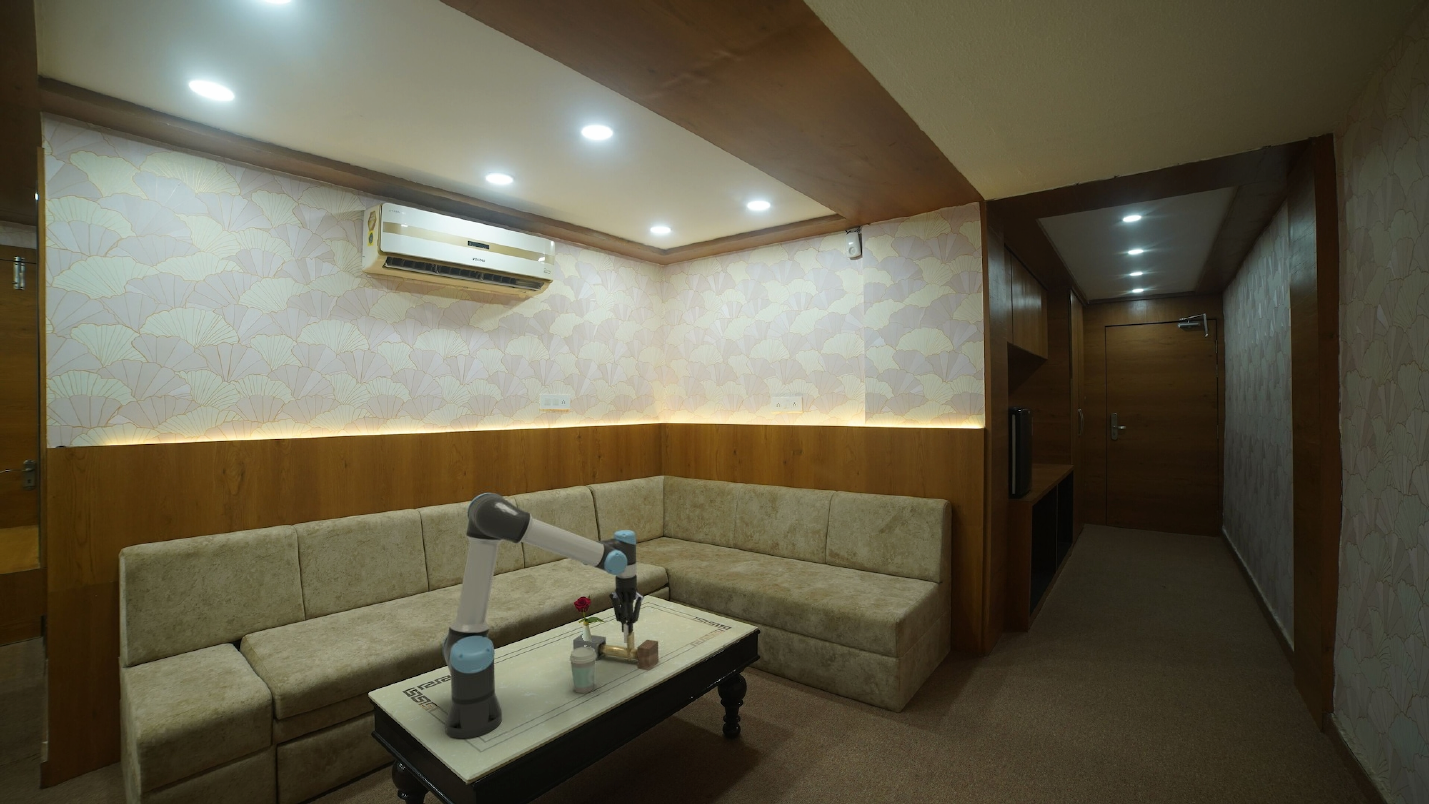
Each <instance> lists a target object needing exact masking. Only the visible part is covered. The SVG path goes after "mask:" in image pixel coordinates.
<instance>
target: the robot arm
mask: <svg viewBox="0 0 1429 804" xmlns="http://www.w3.org/2000/svg"><path fill="white" fill-rule="evenodd" d="M466 513H467V518H468V521H467V522H468V523H467V526H466V527H467V528H466V532H465V533H466V534H465V536H466V538H467V539H468V540H469V547H468V551H467V556H466V557H467V558H466V562H465V563H466V564H465V567H464V568H465V569H464V573H463V578H462V583H461V584H462V586H461V590H460V595H459V602H458V608H457V612H456V618H455V619H454V620H453V621H452V622H450V623H449V626H448V633H447V635H446V637H444V638H445V639H444V641H443V644H442V656H443V658H444V661H445V662H446V663H445V664H446V665H447V668H448V671H449V674H450V681H451V682H450V685H451V686H450V687H451V692H450V693H451V702H450V705H449V709H448V713H447V716H446V719H445V733H446V734H447V735H448V736H449V737H451V738H454V739H473V738H477V737H480V736H483V735H486V734H487V733H490V732H492V731H494V730H495V729H497V727H499V725H500V724H501V722H502V720H503V710H502V707H501V705H500V702H499V700H498V697H497V695H496V680H495V677H496V675H495V654H496V653H495V648H494V643H493V641H492V640H491V639H490V638H489V631H490V624H489V623H488V622H487V620H486V619H487V614H488V613H487V612H488V608H489V604H490V603H489V602H490V597H491V590H492V586H493V580H494V574H495V568H496V562H497V558H498V557H497V556H498V550H499V546H500V544H501V543H502V542H503V541H508V542H509V543H513V544H515V545H516V544H517V545H518V544H520V543H524V544H527V545H530V546H532V547H535V548H539V549H541V550H544V551H547V552H550V553H553V554H555V555H559V556H562V557H565V558H567V559H571V560H573V561H576V562H579V563H582V565H584V566H590V567H593V568H596V569H599V570H602V571H605V572H606V573H607V574H609V575H610V574H611V575H612V576H615V580H614V581H615V590H614V591H613V592H612V593H610V594H608V595H609V598H610V600H611V603H612V606H613V611H614V616H615V620H616V622H620V623H621V632H622V633H623V643H624V644H627V635H628V634H630V633H632V632H634V624H636V622H638V621H639V618H640V611H641V608H642V607H641V606H642V602H643V600H644V598H645V595H643V594H640V593H639V590H638V588H637V586H638V576H637V573H638V572H637V569H638V568H637V538H636V533H635V531H633V530H631V529H630V530H629V529H626V530H625V529H623V530H622V529H621V530H617V531H615V532H614V536H613V538H610V539H603V540H595V541H594V540H592V539H589V538H586V537H584V536H581V535H579V534H577V533H576V534H575V533H573V532H571V531H568V530H566V529H563V528H560V527H558V526H555V525H552V524H549V523H547V522H544V521H542V520H539V519H536V518H534V517H533V516H532V513H530V512H528V511H526V510H522V509H520V508H519V507H517V506H515V505H514V504H513V503H511V502H510V501H509V500H507V499H505V498H504V497H503V496H501V495H500V494H498V493H493V492H485V493H482V494H479V495H477V496H476V497H474V498H473V499H472V500H471V501H470V503H469V505H468V507H467V512H466Z"/></svg>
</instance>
